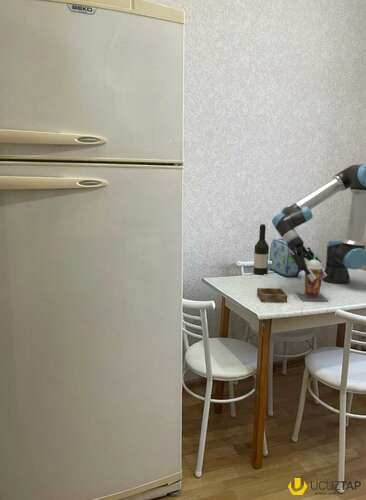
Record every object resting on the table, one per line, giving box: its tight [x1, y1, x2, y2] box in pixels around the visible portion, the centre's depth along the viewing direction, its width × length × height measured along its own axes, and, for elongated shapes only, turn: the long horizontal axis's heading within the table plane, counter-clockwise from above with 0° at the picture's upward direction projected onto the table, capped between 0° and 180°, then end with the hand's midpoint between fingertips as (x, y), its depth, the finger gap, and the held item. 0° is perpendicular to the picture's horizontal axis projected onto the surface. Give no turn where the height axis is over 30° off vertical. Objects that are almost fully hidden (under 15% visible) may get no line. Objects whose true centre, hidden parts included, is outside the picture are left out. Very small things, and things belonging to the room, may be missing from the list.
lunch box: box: [269, 238, 302, 277], centre depth 244 cm, size 26×11×21 cm, turn 12°
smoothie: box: [304, 253, 324, 296], centre depth 194 cm, size 8×8×20 cm
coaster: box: [295, 292, 329, 303], centre depth 196 cm, size 12×12×1 cm
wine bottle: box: [253, 223, 270, 276], centre depth 242 cm, size 8×8×30 cm
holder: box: [256, 287, 288, 303], centre depth 194 cm, size 12×12×4 cm
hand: (319, 278), depth 192 cm, fingers closed on smoothie, 8 cm apart
